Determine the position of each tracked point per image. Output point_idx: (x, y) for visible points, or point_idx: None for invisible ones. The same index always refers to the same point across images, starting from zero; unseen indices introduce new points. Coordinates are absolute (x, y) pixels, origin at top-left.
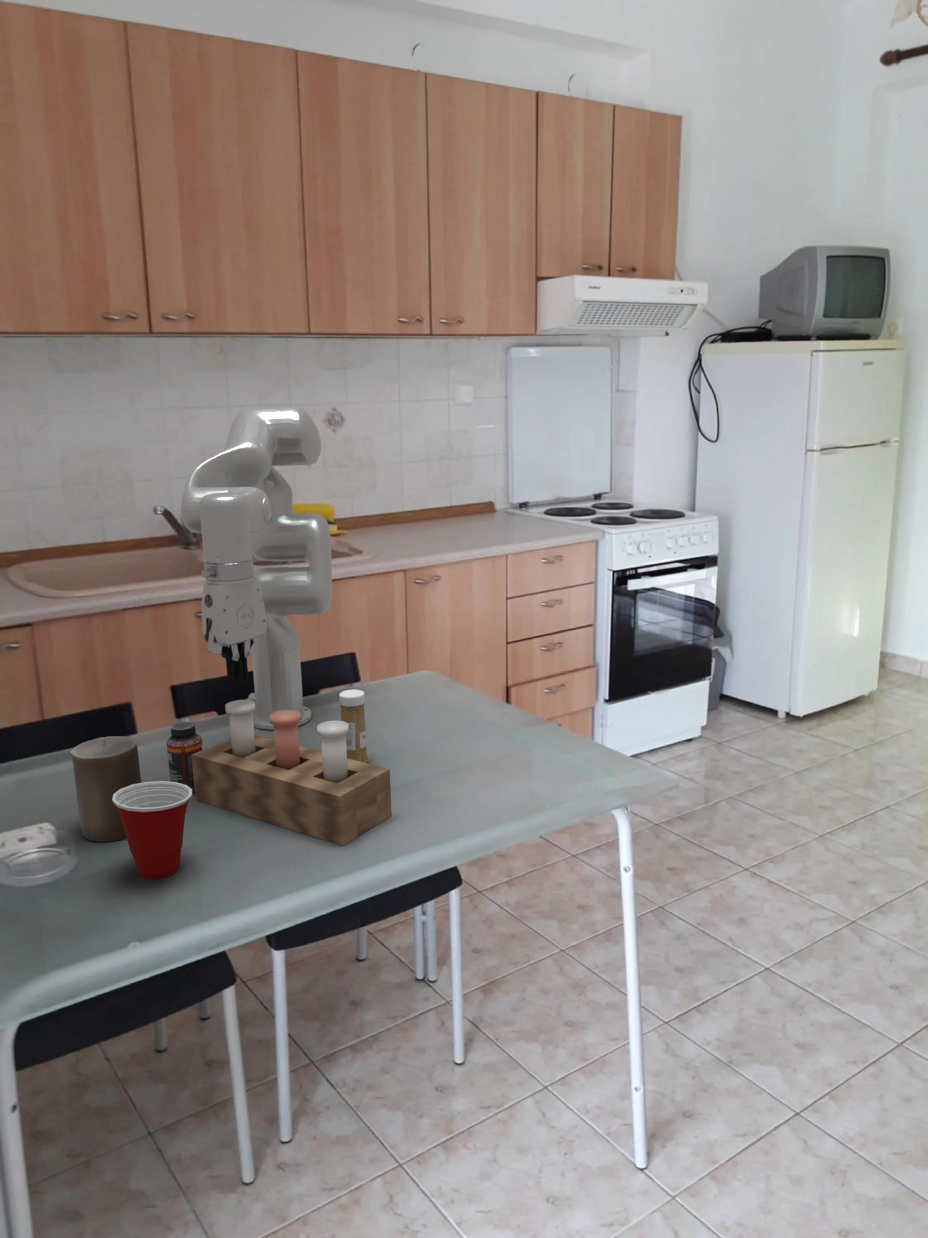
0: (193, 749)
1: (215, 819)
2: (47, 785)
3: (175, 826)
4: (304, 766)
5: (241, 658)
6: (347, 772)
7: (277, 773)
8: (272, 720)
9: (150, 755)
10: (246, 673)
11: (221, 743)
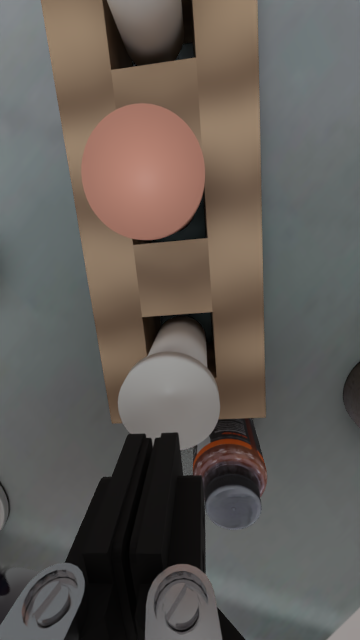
0: (235, 440)
1: (284, 286)
2: (333, 573)
3: None
4: None
5: (111, 579)
6: None
7: (234, 161)
8: (204, 182)
9: None
10: (129, 461)
11: None
